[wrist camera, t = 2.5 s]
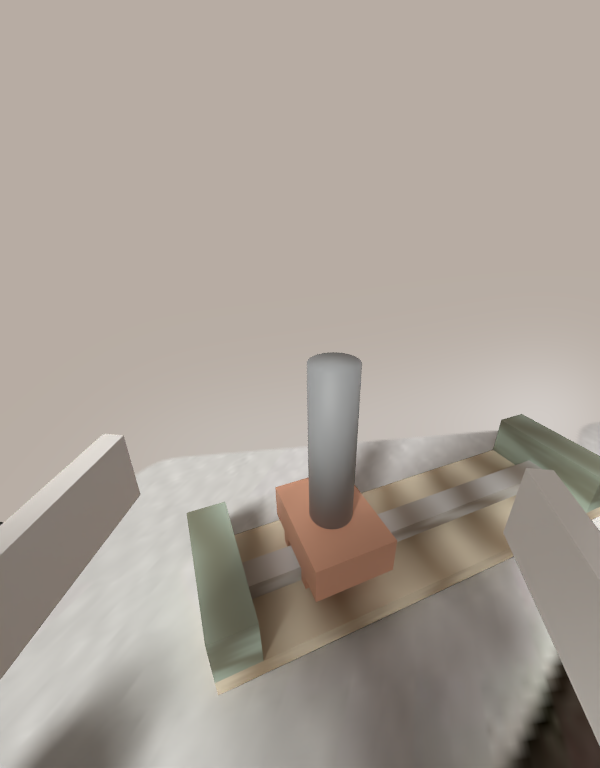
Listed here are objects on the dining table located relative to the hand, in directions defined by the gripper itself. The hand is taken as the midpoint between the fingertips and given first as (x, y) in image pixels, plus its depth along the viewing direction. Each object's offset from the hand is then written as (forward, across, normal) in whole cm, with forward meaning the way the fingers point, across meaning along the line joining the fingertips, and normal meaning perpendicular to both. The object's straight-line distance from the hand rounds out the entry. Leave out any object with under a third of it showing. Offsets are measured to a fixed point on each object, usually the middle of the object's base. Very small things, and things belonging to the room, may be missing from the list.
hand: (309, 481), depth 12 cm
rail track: (+14, +7, -18) cm, 24 cm away
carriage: (+10, 0, -16) cm, 19 cm away
